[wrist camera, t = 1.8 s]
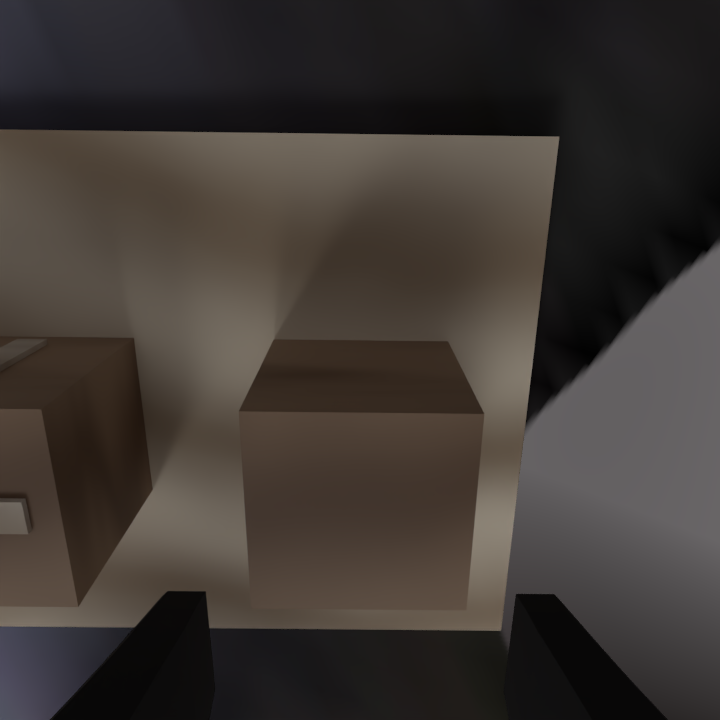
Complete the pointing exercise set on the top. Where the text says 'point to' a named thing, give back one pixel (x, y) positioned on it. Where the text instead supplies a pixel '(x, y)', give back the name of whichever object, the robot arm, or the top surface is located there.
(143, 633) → the robot arm
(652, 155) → the top surface
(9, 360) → the one bar block
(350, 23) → the top surface
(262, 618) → the board
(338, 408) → the plain block
